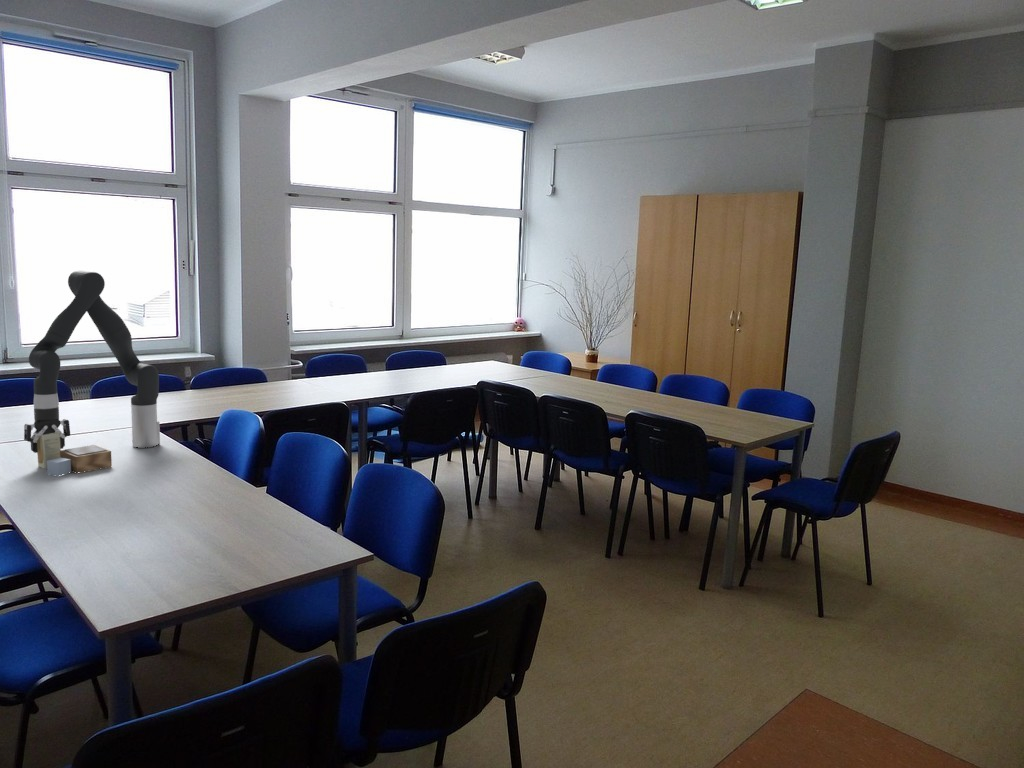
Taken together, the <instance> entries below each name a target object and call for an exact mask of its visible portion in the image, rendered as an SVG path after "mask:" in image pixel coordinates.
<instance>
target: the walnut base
mask: <svg viewBox="0 0 1024 768" xmlns="http://www.w3.org/2000/svg"><path fill="white" fill-rule="evenodd" d="M60 458H65V459H70V460H71V472H72V471H74V472H76V473H75V474H77V473H78V472H83V473H85V472H84V471H88V472H90V471H89V470H94V471H96V470H95V469H99V470H101V469H100V468H104V469H106V468H105V467H109V468H112V467H113V466H112V463H113V462H112V451H111V450H110V449H106V448H104V447H101V446H98V445H95V444H92V445H91V444H90V445H86V446H85V445H84V446H80V447H79V446H78V447H72V448H68V449H62V450H61V451H60ZM111 466H112V467H111ZM74 472H73V473H74ZM78 474H79V473H78Z"/></svg>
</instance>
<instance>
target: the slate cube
mask: <svg viewBox="0 0 1024 768" xmlns="http://www.w3.org/2000/svg"><path fill="white" fill-rule="evenodd" d="M46 469H47V471H46V472H47V475H48V474H50V475H49V476H52V475H56V476H55V477H58V476H59V475H62V474H66V473H69V472H71V473H72V471H71V460H70V459H65V458H56V459H52V460H48V461H47V468H46ZM66 475H67V474H66ZM62 476H63V475H62ZM59 477H60V476H59Z"/></svg>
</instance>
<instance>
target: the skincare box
mask: <svg viewBox="0 0 1024 768" xmlns="http://www.w3.org/2000/svg"><path fill="white" fill-rule="evenodd" d="M37 447H38V452H37V453H36V454H37V467H39V468H42V469H47V461H48V460H52V459H56V458H60V451H61V449H60V436H59V433H57V432H54V433H49V434H42V435H41V437H40V438H39V439H38V440H37Z"/></svg>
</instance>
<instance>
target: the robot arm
mask: <svg viewBox="0 0 1024 768" xmlns="http://www.w3.org/2000/svg"><path fill="white" fill-rule="evenodd" d="M67 284H68V288H69V290H70V291H71V293H72V294H73V295H74V298H73V299H72V301H71V302H70V303H69V304H68V305H67V306H66V308H64V309H63V310H62V311H61V312H60V313H59V314H58V315H57V316H56V317H55V319H54V320H53V321H52V323H51V324H50V326H49V328H48V329H47V332H46V333H45V335H44V337H43V338H41V339H40V341H39V342H37V344H36V345H35V346H34V347H33V348H32V349H31V351H30V353H29V356H28V363H29V366H31V367H32V368H34V369H37V370H39V374H38V376H37V377H36V378H34V379H33V415H34V417H33V418H34V423H29V424H28V423H25V424H24V427H23V430H24V431H23V432H24V433H23V436H24V437H23V440H24V441H26V442H28V443H30V451H31V452H33V453H34V454H37V452H38V447H37V440H38V439H39V438H40V437H41V435H42V434H49V433H54V432H57V433H59V436H60V449H62V450H64V447H65V446H66V441H65V439H66V438H67V437H70V436H71V426H70V421H69V419H65V418H63V419H62V420H60V409H59V408H60V407H59V405H60V402H59V396H58V383H57V382H58V379H59V375H60V371H61V359H60V356H59V354H57V352H56V351H58V350H59V349H61V348H62V349H63V348H64V347H65V346H66V345H67V343H68V342H69V339H70V338H71V336H72V334H73V333H74V331H75V329H76V327H77V326H78V324H79V323H80V321H81V320H82V318H83V317H84V315H85V314H86V313H87V314H88V315H89V318H91V321H92V322H93V324H94V326H95V327H96V329H97V330H98V332H99V334H100V335H101V337H102V339H103V340H104V342H105V343H106V345H107V347H109V349H110V351H111V353H112V354H113V356H114V357H115V359H116V360H117V362H118V365H119V366H120V368H121V370H122V373H123V374H124V377H125V379H126V380H127V382H128V383H129V384H130V385H133V386H135V387H137V390H136V391H137V392H136V394H134V395H132V397H131V398H130V408H131V412H130V413H131V438H132V447H133V448H136V447H138V448H139V449H143V448H144V449H146V448H147V447H148V448H154V447H157V446H159V445H158V444H160V445H161V436H160V435H161V433H160V432H161V429H160V427H161V424H160V421H158V407H157V406H158V404H157V403H158V401H157V400H158V397H159V393H160V375H159V371H158V369H157V367H156V366H154V365H153V364H148V363H147V364H146V363H143V362H141V361H140V359H139V358H138V357H137V354H136V353H135V352H134V349H133V340H132V335H131V332H130V330H129V328H128V326H127V325H126V322H124V320H123V319H122V317H121V316H120V315H119V314H118V313H117V312H116V311H114V310H113V309H112V308H111V307H110V306H109V305H108V304H107V303H106V302H105V301H104V300H103V299H102V297H101V294H102V293H103V291H104V289H105V287H106V283H105V279H104V277H103V276H102V275H101V274H100V273H98V272H95V271H90V270H76V271H73V272H72V273H70V274H69V275H68V279H67ZM60 425H61V426H62V429H63V432H62V431H61V429H59V427H60ZM33 429H35V430H34V432H32V431H33ZM32 433H33V434H32ZM156 445H157V446H156ZM153 446H154V447H153ZM145 447H146V448H145Z"/></svg>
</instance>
